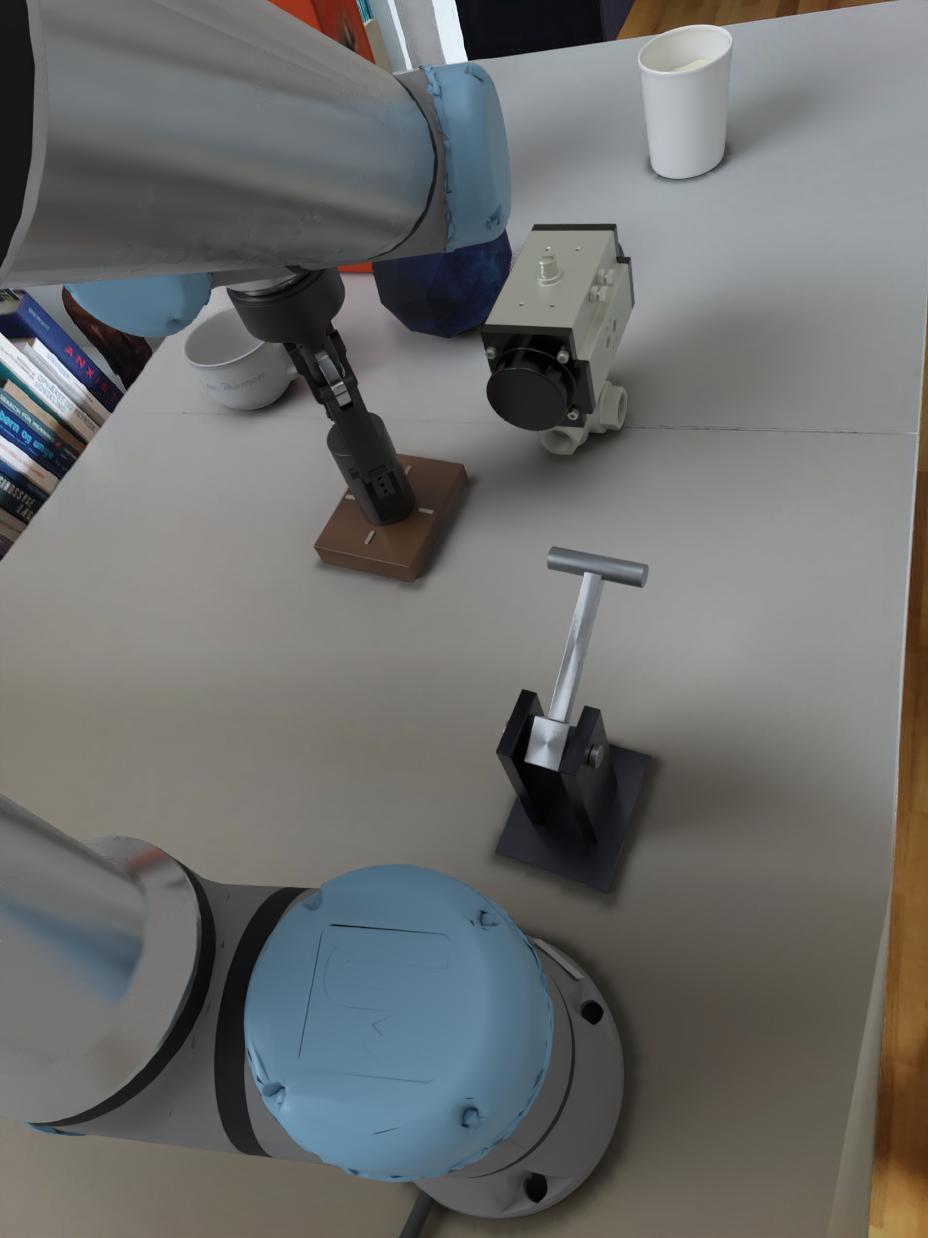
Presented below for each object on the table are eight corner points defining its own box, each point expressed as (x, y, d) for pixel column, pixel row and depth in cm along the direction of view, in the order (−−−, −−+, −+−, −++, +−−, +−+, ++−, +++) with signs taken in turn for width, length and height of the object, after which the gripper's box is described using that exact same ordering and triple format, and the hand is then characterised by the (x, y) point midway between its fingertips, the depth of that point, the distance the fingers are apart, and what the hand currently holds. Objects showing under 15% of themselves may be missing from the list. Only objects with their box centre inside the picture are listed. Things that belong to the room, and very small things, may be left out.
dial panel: (417, 584, 74) (408, 566, 72) (323, 562, 78) (312, 545, 76) (470, 481, 80) (463, 462, 77) (379, 466, 84) (370, 447, 81)
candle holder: (628, 160, 102) (620, 53, 92) (699, 125, 103) (698, 14, 93) (674, 194, 96) (669, 82, 87) (748, 156, 97) (752, 41, 87)
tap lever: (559, 550, 54) (548, 542, 52) (651, 568, 51) (644, 560, 49) (507, 752, 53) (494, 752, 51) (599, 780, 51) (589, 781, 49)
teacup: (198, 414, 95) (161, 358, 89) (252, 349, 99) (220, 291, 93) (295, 436, 89) (262, 378, 83) (347, 366, 93) (320, 305, 87)
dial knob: (423, 509, 76) (391, 434, 68) (373, 534, 75) (335, 462, 68) (403, 475, 79) (371, 399, 71) (355, 499, 78) (317, 426, 71)
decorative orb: (506, 204, 94) (399, 129, 84) (563, 270, 85) (451, 195, 75) (434, 311, 101) (327, 254, 91) (479, 383, 92) (367, 328, 82)
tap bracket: (547, 732, 64) (515, 644, 53) (652, 762, 60) (640, 674, 50) (498, 857, 59) (453, 787, 49) (607, 896, 56) (584, 831, 46)
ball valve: (600, 501, 75) (574, 338, 60) (510, 490, 78) (464, 333, 63) (650, 360, 83) (637, 186, 68) (567, 355, 86) (538, 188, 72)
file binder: (403, 275, 100) (295, -41, 74) (281, 273, 107) (144, -18, 81) (427, 233, 104) (333, -83, 78) (308, 233, 111) (185, -58, 85)
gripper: (369, 303, 52) (460, 539, 71) (287, 183, 62) (385, 416, 81) (258, 358, 51) (380, 580, 70) (194, 227, 62) (315, 451, 81)
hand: (382, 491), depth 76 cm, fingers closed on dial knob, 5 cm apart
